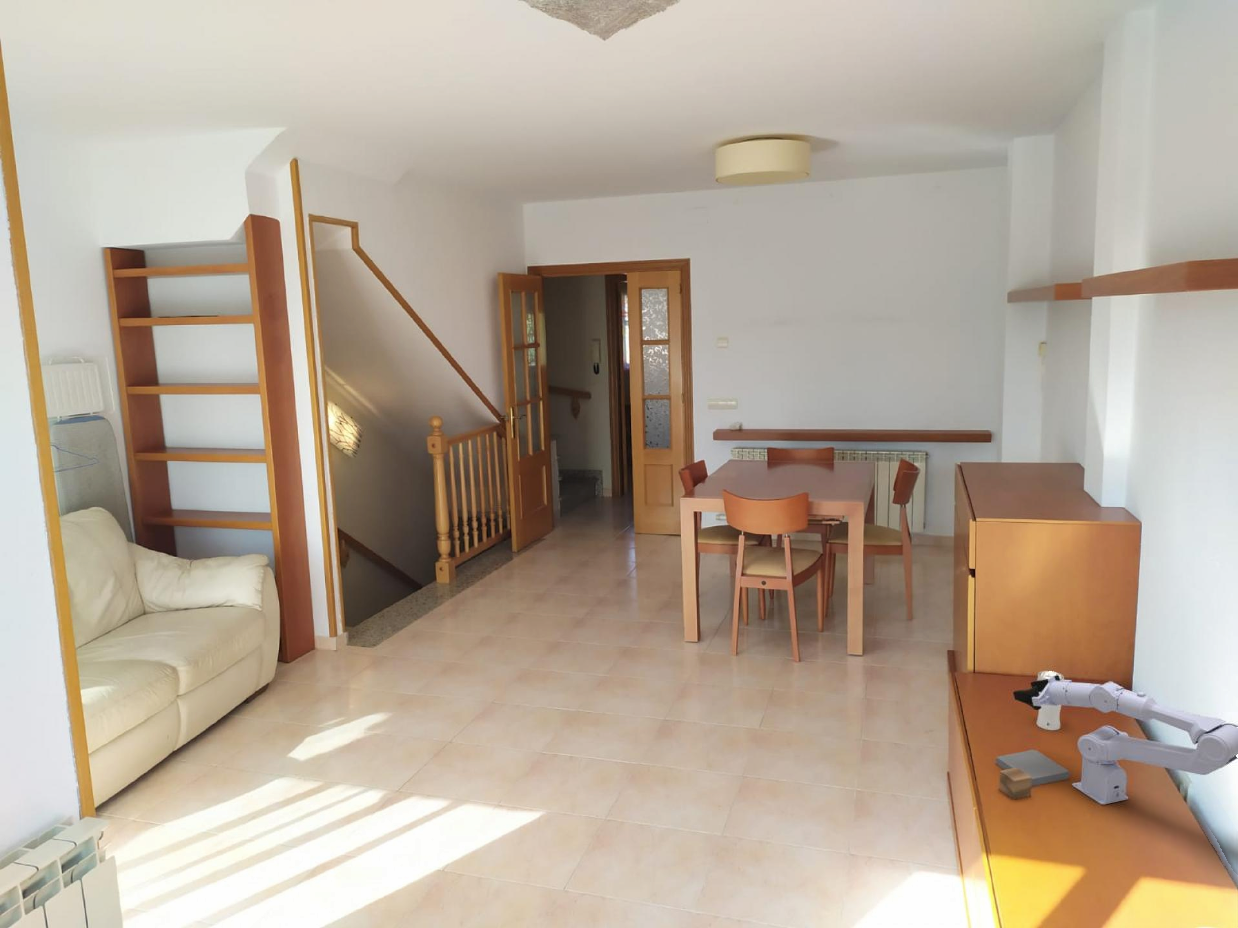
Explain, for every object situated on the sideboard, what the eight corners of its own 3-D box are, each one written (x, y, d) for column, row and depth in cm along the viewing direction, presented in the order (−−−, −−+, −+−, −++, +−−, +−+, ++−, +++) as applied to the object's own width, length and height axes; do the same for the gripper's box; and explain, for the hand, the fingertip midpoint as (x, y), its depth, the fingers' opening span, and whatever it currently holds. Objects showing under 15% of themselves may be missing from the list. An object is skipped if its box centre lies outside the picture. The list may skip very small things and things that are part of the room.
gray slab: (1068, 780, 223) (1069, 771, 223) (1028, 788, 220) (1029, 779, 219) (1034, 758, 234) (1034, 749, 234) (995, 765, 231) (996, 756, 231)
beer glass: (1059, 733, 246) (1062, 682, 244) (1032, 726, 250) (1034, 676, 248) (1064, 723, 252) (1067, 673, 249) (1037, 717, 256) (1040, 668, 253)
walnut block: (1030, 796, 216) (1031, 777, 215) (1013, 799, 214) (1014, 780, 214) (1016, 785, 220) (1017, 767, 220) (999, 789, 219) (1000, 770, 218)
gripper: (1084, 669, 223) (1036, 667, 235) (1051, 687, 216) (1002, 684, 227) (1091, 696, 223) (1042, 693, 235) (1058, 715, 215) (1009, 711, 227)
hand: (1023, 690), depth 231 cm, fingers open, 7 cm apart
